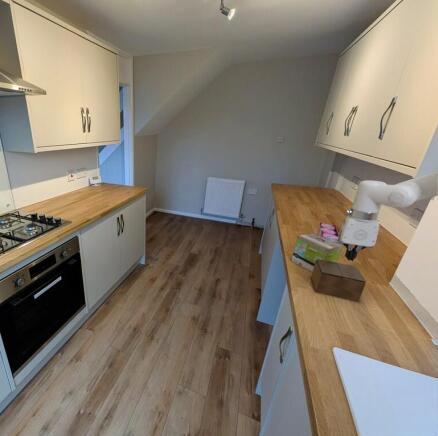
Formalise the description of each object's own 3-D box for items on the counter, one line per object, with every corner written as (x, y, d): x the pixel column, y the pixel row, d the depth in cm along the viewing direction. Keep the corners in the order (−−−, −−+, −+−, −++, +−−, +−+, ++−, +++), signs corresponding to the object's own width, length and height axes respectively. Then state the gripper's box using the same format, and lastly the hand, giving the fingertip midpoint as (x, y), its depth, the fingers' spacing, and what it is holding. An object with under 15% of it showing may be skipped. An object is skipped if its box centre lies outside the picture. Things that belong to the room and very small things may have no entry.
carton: (348, 286, 101) (355, 265, 98) (357, 303, 91) (366, 281, 88) (310, 278, 107) (316, 258, 103) (315, 293, 97) (322, 272, 93)
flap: (355, 266, 98) (355, 265, 98) (365, 281, 88) (366, 281, 88) (335, 263, 100) (335, 262, 100) (343, 277, 91) (343, 276, 90)
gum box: (313, 242, 141) (319, 221, 137) (329, 246, 137) (336, 224, 133) (314, 259, 122) (321, 235, 118) (333, 264, 118) (341, 239, 114)
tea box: (290, 261, 120) (296, 235, 115) (304, 258, 124) (311, 232, 119) (319, 277, 107) (328, 248, 102) (334, 273, 110) (343, 245, 105)
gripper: (341, 215, 86) (328, 259, 92) (395, 220, 80) (378, 267, 86) (335, 209, 93) (324, 251, 99) (385, 214, 87) (370, 258, 93)
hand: (349, 259), depth 93 cm, fingers closed
